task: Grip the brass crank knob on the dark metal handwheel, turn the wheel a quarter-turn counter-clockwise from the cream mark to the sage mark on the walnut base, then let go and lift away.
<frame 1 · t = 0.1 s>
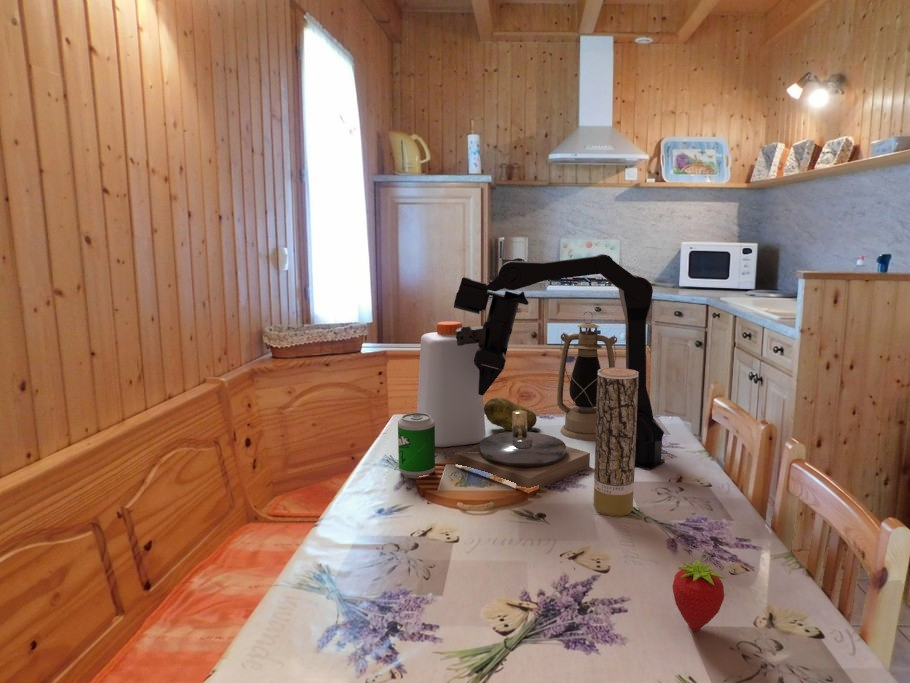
hand: (482, 389, 136), 15 cm above the table, tool pointing down, fingers open, 9 cm apart
plastic bottle: (450, 438, 153), on the table
wheel base: (522, 466, 133), on the table
handwheel: (522, 436, 132), point 7 cm above the table, hinge at 0.0°
lantern: (585, 433, 156), on the table
potato: (509, 430, 159), on the table
strawberry: (695, 631, 78), on the table
paper tube: (612, 510, 112), on the table
soda can: (417, 474, 130), on the table
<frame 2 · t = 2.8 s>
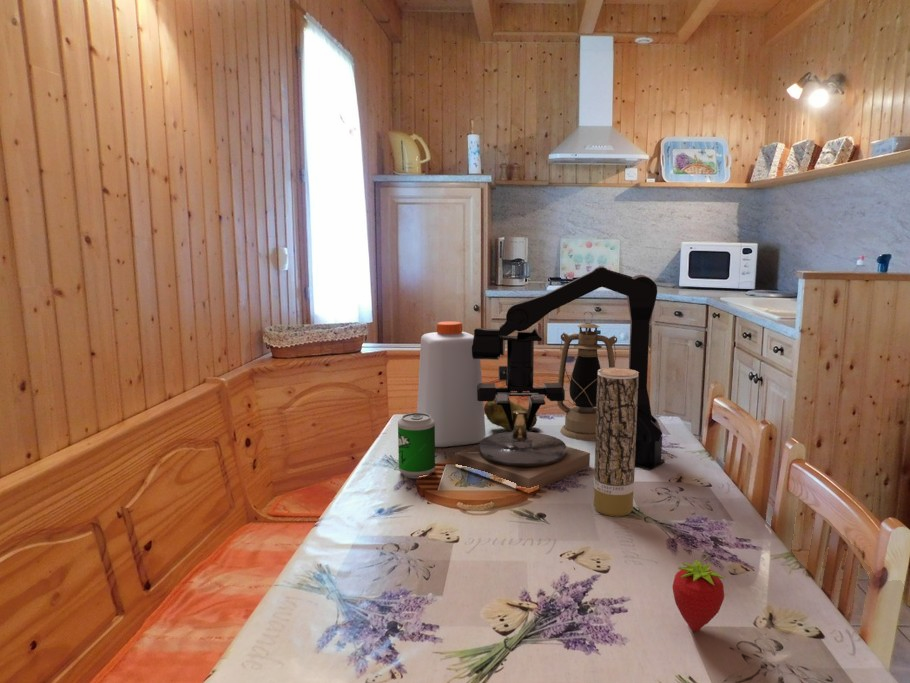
hand: (519, 430, 139), 6 cm above the table, tool pointing down, fingers closed on handwheel, 3 cm apart
handwheel: (522, 436, 132), point 7 cm above the table, hinge at 0.0°, touching gripper
everything else where it was.
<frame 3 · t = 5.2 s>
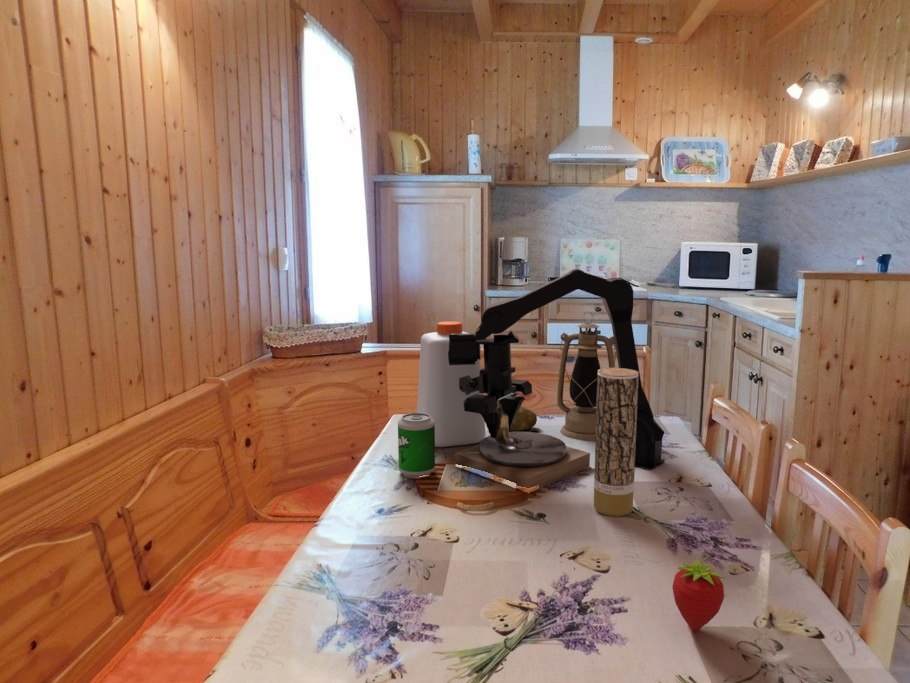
hand: (500, 433, 137), 6 cm above the table, tool pointing down, fingers open, 5 cm apart
handwheel: (522, 436, 132), point 7 cm above the table, hinge at 36.2°, touching gripper
everything else where it was.
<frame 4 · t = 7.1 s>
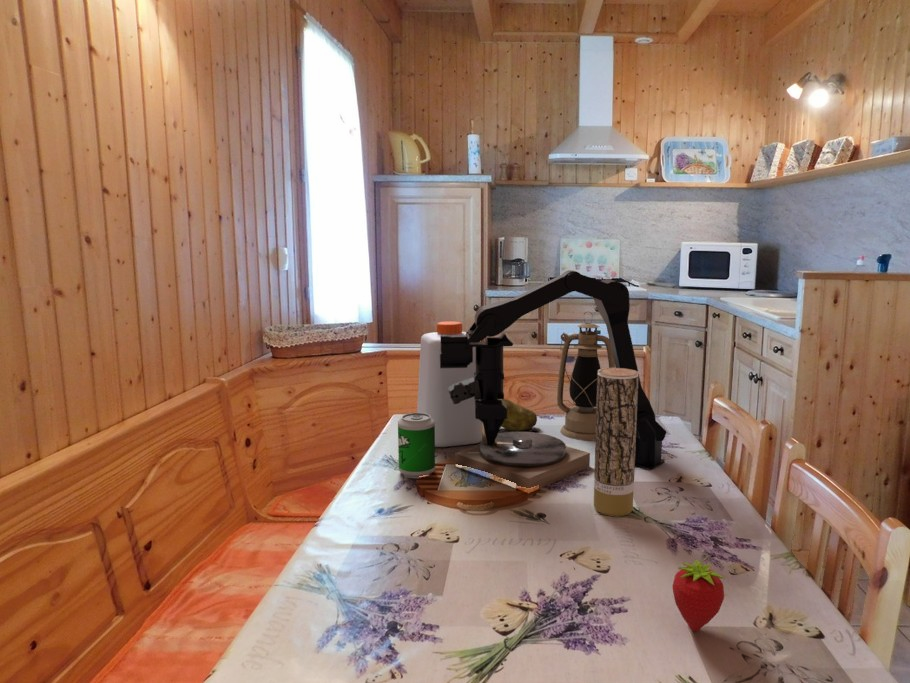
hand: (489, 440, 133), 6 cm above the table, tool pointing down, fingers open, 6 cm apart
handwheel: (522, 436, 132), point 7 cm above the table, hinge at 78.8°
everything else where it was.
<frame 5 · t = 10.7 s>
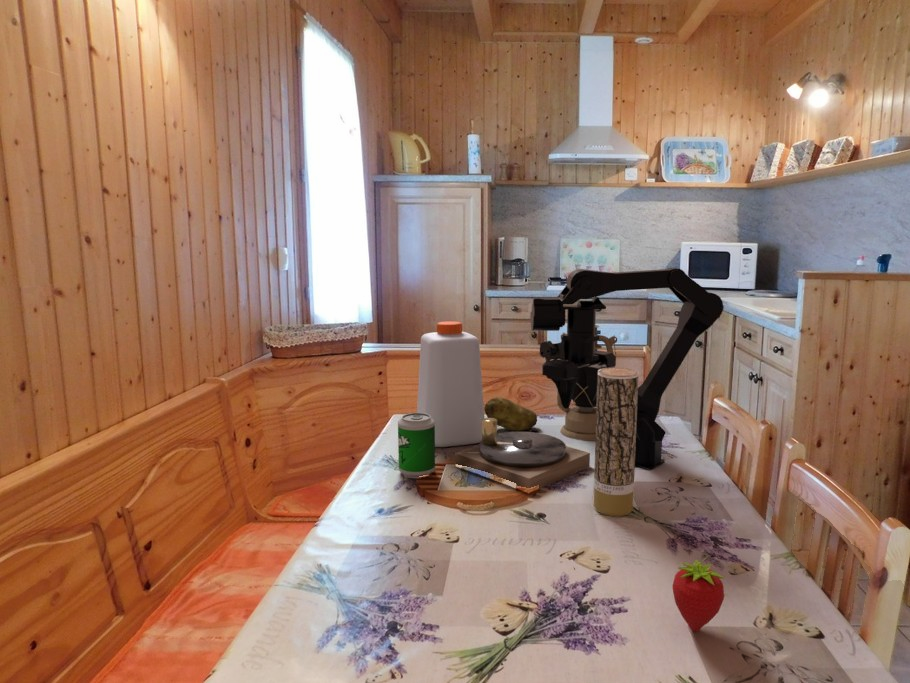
hand: (579, 403, 133), 13 cm above the table, tool pointing down, fingers open, 9 cm apart
nothing on the table moved.
at the end: handwheel at +79° (first picture: +0°); the gripper is holding nothing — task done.
